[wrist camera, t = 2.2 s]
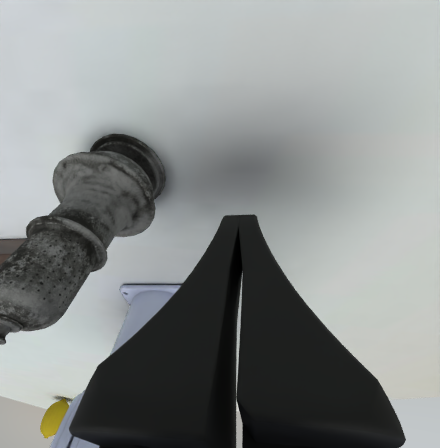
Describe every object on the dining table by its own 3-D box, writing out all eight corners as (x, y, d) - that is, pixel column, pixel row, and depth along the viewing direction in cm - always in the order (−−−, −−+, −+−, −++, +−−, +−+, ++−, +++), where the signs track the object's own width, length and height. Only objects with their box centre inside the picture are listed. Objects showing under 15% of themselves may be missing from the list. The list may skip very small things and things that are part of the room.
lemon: (76, 402, 65) (59, 441, 59) (55, 399, 64) (35, 438, 58) (74, 397, 62) (55, 438, 56) (52, 394, 61) (31, 434, 55)
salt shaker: (155, 124, 14) (-4, 302, 5) (178, 204, 18) (108, 388, 9) (68, 133, 15) (-202, 300, 6) (107, 207, 19) (-24, 379, 10)
